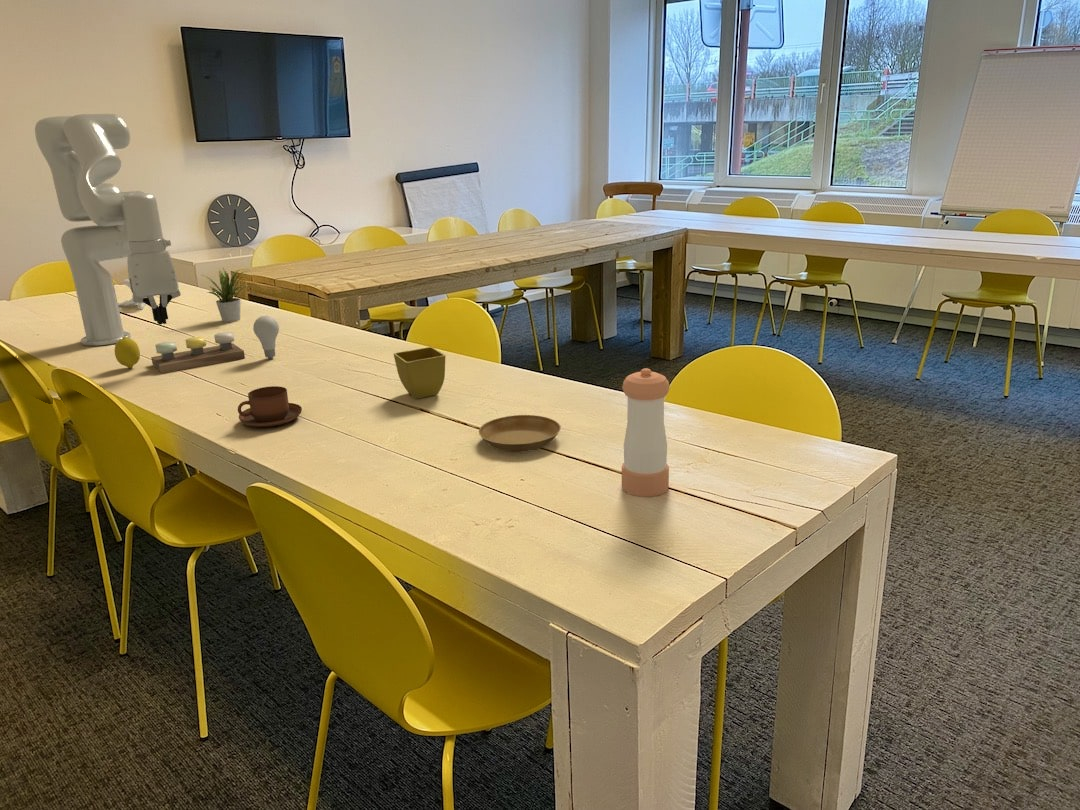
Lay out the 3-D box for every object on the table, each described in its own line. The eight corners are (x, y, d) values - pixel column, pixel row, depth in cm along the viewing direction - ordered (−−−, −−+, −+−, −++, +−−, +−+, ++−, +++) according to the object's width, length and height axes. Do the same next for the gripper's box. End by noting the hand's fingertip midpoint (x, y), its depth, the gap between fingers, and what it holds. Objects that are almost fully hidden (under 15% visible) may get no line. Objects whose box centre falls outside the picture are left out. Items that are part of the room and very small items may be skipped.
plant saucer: (496, 463, 140) (495, 449, 139) (468, 436, 153) (467, 422, 152) (574, 448, 145) (574, 434, 144) (541, 422, 158) (540, 409, 157)
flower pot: (409, 403, 171) (406, 362, 168) (396, 392, 178) (392, 352, 175) (449, 396, 174) (446, 355, 172) (434, 385, 182) (431, 346, 179)
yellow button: (186, 355, 208) (183, 339, 207) (205, 352, 211) (202, 335, 209) (190, 359, 205) (187, 342, 203) (210, 356, 207) (207, 339, 206)
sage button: (156, 361, 204) (153, 343, 203) (176, 357, 207) (173, 340, 205) (160, 365, 201) (157, 347, 199) (180, 361, 203) (177, 344, 202)
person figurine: (101, 275, 276) (136, 268, 267) (136, 276, 287) (170, 270, 279) (106, 314, 277) (141, 308, 268) (140, 314, 288) (174, 308, 279)
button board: (152, 364, 207) (151, 357, 206) (233, 350, 217) (232, 343, 217) (161, 373, 199) (159, 365, 198) (244, 358, 209) (243, 350, 209)
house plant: (269, 317, 254) (261, 264, 248) (232, 327, 243) (223, 272, 237) (239, 313, 261) (230, 262, 256) (201, 322, 250) (192, 269, 245)
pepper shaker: (616, 493, 126) (615, 374, 120) (628, 475, 133) (628, 360, 127) (662, 499, 124) (664, 377, 118) (673, 480, 130) (675, 363, 124)
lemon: (133, 371, 201) (126, 339, 199) (113, 371, 202) (106, 339, 200) (147, 365, 206) (141, 334, 204) (128, 364, 207) (121, 333, 205)
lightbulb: (288, 356, 210) (282, 314, 206) (271, 362, 204) (265, 319, 201) (269, 354, 212) (263, 312, 209) (252, 360, 207) (246, 317, 203)
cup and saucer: (268, 436, 156) (263, 405, 154) (227, 426, 162) (222, 396, 160) (315, 416, 166) (311, 387, 164) (274, 408, 172) (270, 379, 170)
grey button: (214, 350, 212) (212, 334, 210) (233, 347, 214) (230, 331, 213) (219, 354, 208) (216, 337, 207) (238, 351, 211) (235, 334, 209)
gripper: (177, 242, 202) (190, 315, 208) (110, 249, 194) (125, 325, 200) (184, 245, 196) (197, 320, 202) (115, 252, 188) (131, 331, 194)
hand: (161, 323), depth 201 cm, fingers closed
